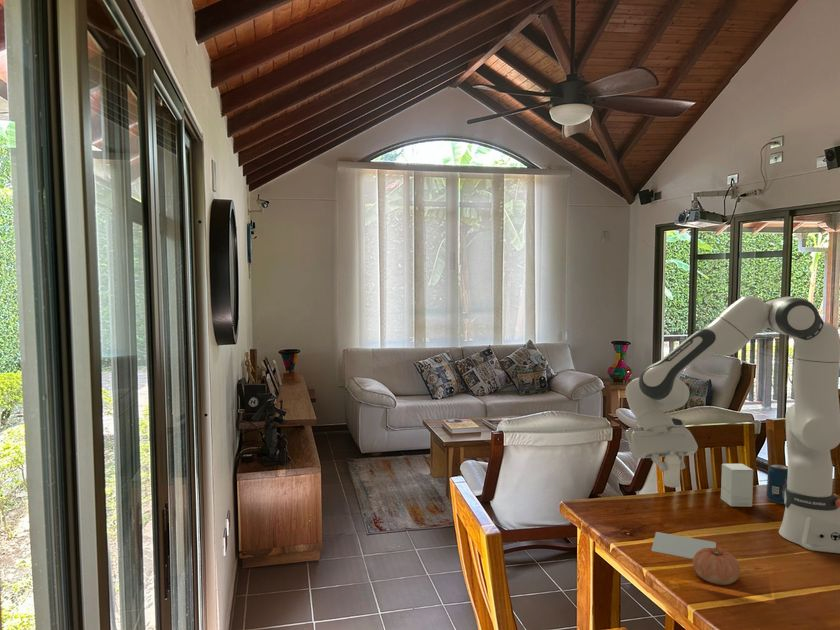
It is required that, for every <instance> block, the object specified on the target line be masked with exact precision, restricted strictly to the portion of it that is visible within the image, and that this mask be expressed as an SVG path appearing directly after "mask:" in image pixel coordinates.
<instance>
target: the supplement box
mask: <svg viewBox="0 0 840 630" xmlns="http://www.w3.org/2000/svg"><path fill="white" fill-rule="evenodd" d="M720 486H721V487H720V499H721V500H722V501H723V502H724V503H726V504H727V505H729V506H730V507H743V508H744V507H753V495H754V493H753V491H754V490H753V489H754V469H752V468H751V467H749V466H747V465H746V464H744V463H722V464H721V485H720Z"/></svg>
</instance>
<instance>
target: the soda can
mask: <svg viewBox="0 0 840 630" xmlns="http://www.w3.org/2000/svg"><path fill="white" fill-rule="evenodd" d="M787 477H788V465H786V464H782V463H770V464H769V467H768V469H767V482H766V484H767V485H766V496H767V498H768V500H769V501H770V502H773V503H777V504H785V503H784V495H785V487H786V486H787Z"/></svg>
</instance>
